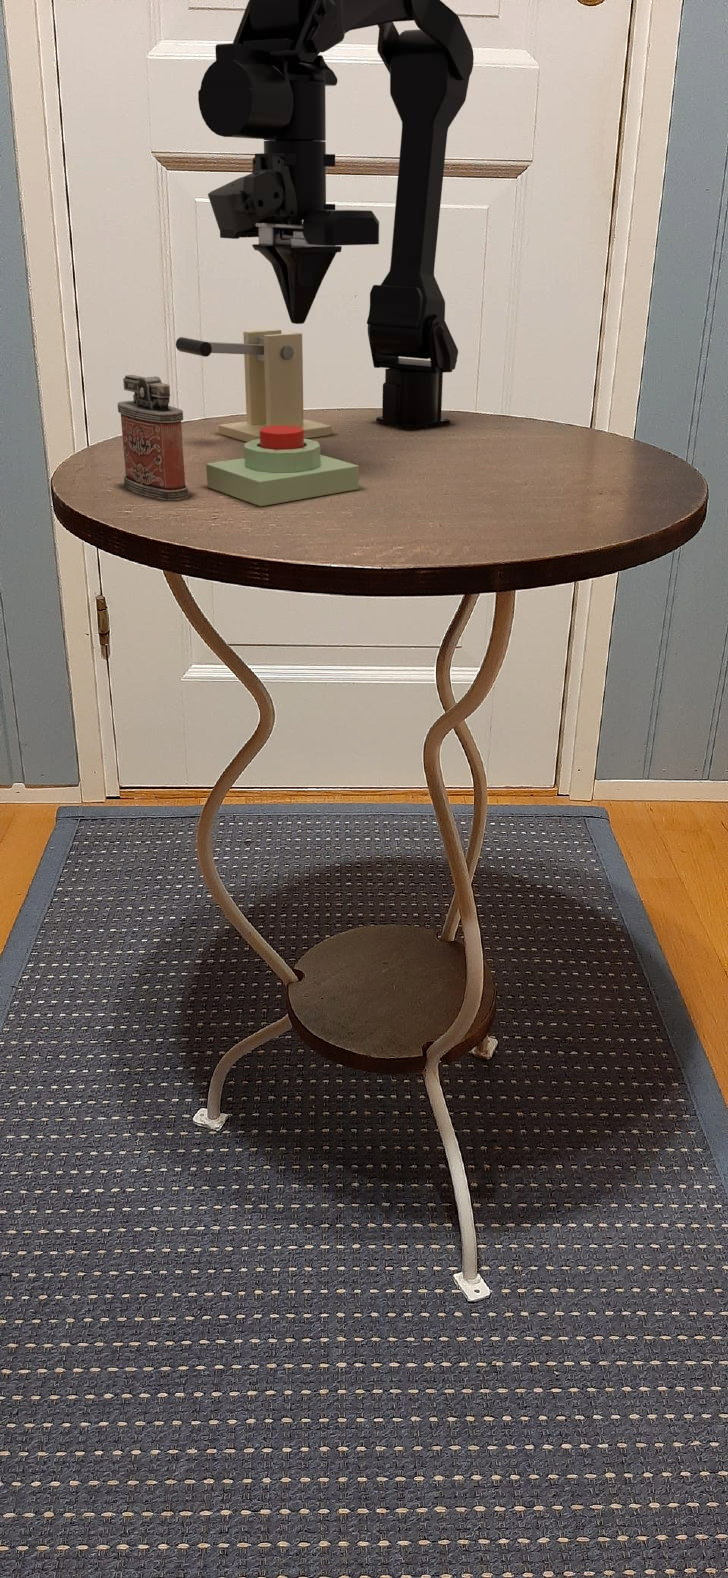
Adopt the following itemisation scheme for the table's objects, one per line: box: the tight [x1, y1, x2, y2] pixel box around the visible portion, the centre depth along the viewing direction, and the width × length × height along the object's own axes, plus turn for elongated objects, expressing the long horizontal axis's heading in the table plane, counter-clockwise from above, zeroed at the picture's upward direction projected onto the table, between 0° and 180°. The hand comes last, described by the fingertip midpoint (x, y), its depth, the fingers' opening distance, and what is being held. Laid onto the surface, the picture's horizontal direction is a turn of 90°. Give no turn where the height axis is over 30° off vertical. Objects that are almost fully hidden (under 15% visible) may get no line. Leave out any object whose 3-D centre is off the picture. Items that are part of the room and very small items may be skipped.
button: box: [260, 425, 304, 450], centre depth 105 cm, size 4×4×2 cm
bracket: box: [218, 328, 332, 443], centre depth 128 cm, size 10×8×11 cm
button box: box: [205, 438, 360, 507], centre depth 106 cm, size 11×9×4 cm
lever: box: [175, 336, 264, 362], centre depth 123 cm, size 12×5×2 cm, turn 128°
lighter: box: [117, 374, 189, 501], centre depth 103 cm, size 8×3×10 cm, turn 43°
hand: (297, 323), depth 113 cm, fingers closed
